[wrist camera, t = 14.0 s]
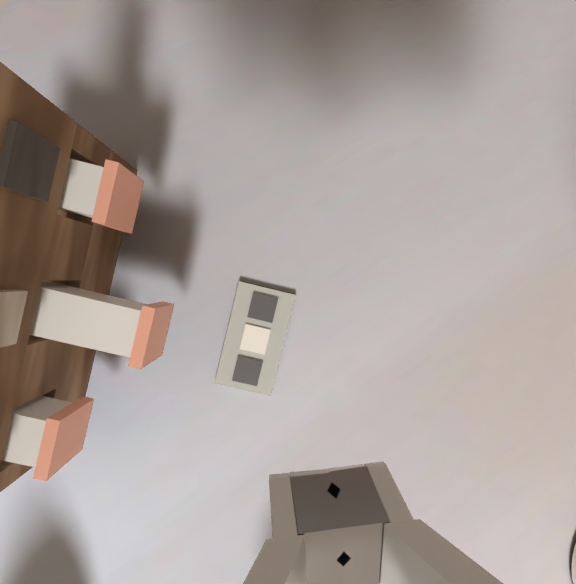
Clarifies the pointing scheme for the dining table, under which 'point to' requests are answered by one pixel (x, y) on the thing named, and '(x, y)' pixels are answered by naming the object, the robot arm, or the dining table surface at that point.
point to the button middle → (102, 322)
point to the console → (43, 249)
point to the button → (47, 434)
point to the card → (255, 338)
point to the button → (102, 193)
